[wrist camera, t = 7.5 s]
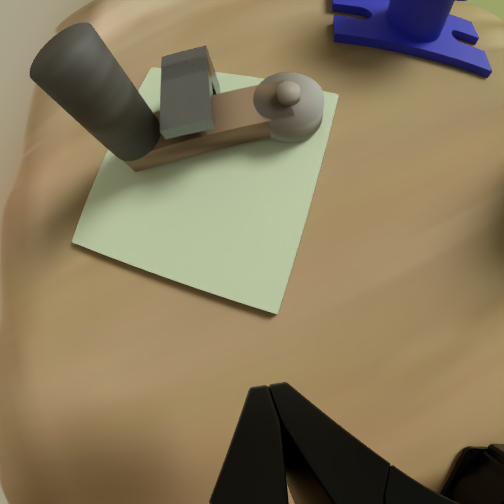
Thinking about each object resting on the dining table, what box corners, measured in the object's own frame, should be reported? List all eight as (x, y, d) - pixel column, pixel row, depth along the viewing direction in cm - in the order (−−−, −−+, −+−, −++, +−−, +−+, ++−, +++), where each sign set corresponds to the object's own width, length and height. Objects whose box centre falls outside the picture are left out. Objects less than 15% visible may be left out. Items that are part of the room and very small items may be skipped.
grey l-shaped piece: (312, 85, 21) (315, -45, 10) (330, 135, 20) (352, 1, 9) (124, 132, 22) (40, 39, 11) (125, 184, 21) (21, 100, 10)
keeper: (221, 89, 22) (206, 45, 18) (228, 158, 21) (211, 119, 16) (183, 97, 23) (161, 57, 18) (186, 166, 22) (159, 131, 17)
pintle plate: (277, 314, 19) (277, 314, 19) (76, 243, 22) (71, 242, 21) (337, 99, 21) (338, 94, 21) (153, 71, 24) (151, 67, 23)
